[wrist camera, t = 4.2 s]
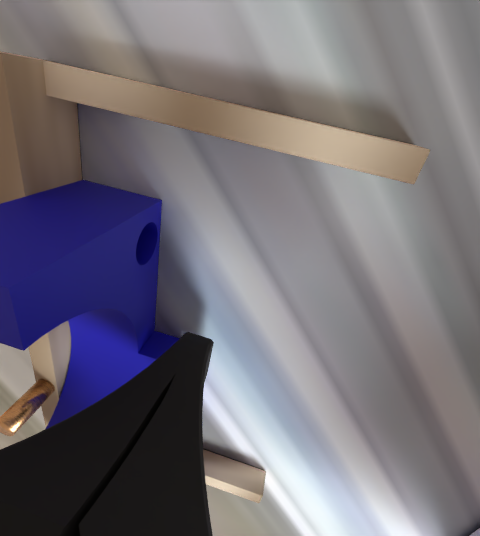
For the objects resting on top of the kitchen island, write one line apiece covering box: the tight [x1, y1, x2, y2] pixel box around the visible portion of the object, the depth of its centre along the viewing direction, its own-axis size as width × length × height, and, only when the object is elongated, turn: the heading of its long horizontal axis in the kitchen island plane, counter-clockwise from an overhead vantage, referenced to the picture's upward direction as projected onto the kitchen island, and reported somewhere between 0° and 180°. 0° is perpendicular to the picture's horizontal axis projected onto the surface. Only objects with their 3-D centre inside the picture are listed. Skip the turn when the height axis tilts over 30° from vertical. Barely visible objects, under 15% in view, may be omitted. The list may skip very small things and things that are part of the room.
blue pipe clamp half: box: [0, 180, 180, 429], centre depth 11 cm, size 12×4×6 cm, turn 169°
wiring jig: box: [0, 51, 430, 503], centre depth 11 cm, size 11×18×4 cm, turn 169°
